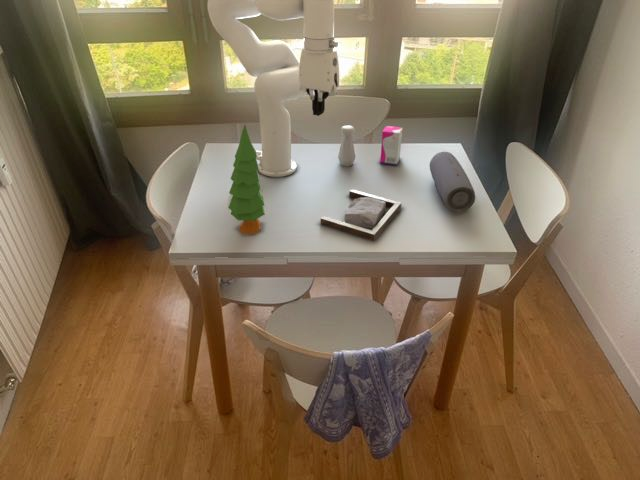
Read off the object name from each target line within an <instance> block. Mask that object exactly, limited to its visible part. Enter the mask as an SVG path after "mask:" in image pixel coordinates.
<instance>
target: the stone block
mask: <svg viewBox="0 0 640 480" xmlns="http://www.w3.org/2000/svg"><path fill="white" fill-rule="evenodd" d="M386 209H387V207H386V202H383V201H381V200H377V199H374V198H369V197H364V198H357V199H355V198H353V201H352V202H351V203H350V204H349V205H348V207H347V208H346V209H345V212H344V216H343V217H344V222H345V223H348V224H352V225H355V226H358V227H362V228H365V229H368V230H372V229H373V228H374V227H375V226H376V225H377V224H378V222H379V221H380V220H381V219H382V218H383V214H385V213H384V212H385V211H386Z"/></svg>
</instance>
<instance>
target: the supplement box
mask: <svg viewBox="0 0 640 480" xmlns="http://www.w3.org/2000/svg"><path fill="white" fill-rule="evenodd" d="M403 130H404V129H403V127H400V126H391V125H385V127H384V129H383V130H382V135H381V145H380V146H381V147H380V160H379V163H380V164H381V165H388V166H397V165H398V164H399V161H400V159H401V150H402V149H401V148H402V139H403Z"/></svg>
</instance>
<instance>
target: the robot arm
mask: <svg viewBox="0 0 640 480" xmlns="http://www.w3.org/2000/svg"><path fill="white" fill-rule="evenodd" d="M207 12H208V17H209V19H210V22H211V24H212V26H213V28H214V30H215V32H217V33H218V35H219V36H220V37H221V39H223V41H224V42H226V43H227V44H228V46H229V47H230V49H231V50H232V52H233V53H234V55H235V57H236V58H237V60H238V62H240V64H241V66H242V68H243V69H244V70H245V72H246V73H247V74H248V75H249V76H251V77H253V78H255V77H256V78H255V79H254V81H253V90H254V94H255V98H256V99H255V100H256V102H257V109H258V116H259V117H258V118H259V129H260V144H261V145H260V146H261V150H255V151H256V154H257V157H256V160H257V161H259V163H258V168H259V170H258V172H259V173H260V174H262V175H263V176H266V177H271V178H281V177H287V176H290V175H292V174H293V173H295V172H296V170H297V163H296V162H295V161H294V160H292V133H291V132H292V131H291V129H292V128H291V127H292V126H291V116H290V113H289V111H288V110H287V109H286V107H285V105H284V103H286V102H290V101H293V100H298V99H301V98H303V97H306V96H307V95H308V96H309V99H310V101H311V102H312V103H311V109H312V115H313V116H317V117H320V116H321V115H323V114H324V112H325V110H326V107H325V106H326V105H325V104H326V99H327V98H329V97H335V96H336V95H338V89H337V88H338V87H339V86H340V66H339V65H340V64H339V63H340V62H339V55H338V52H337V49H334V48H338V45H339V42H338V41H336V40H335V37H334V35H335V0H207ZM260 15H262V16H264V17H266V18H269V19H272V20H275V21H289V20H295V19H303V47H302V48H301V52H300V58H298V57H297V55H296V54H295V52H294V51H293V49H292V48H291V47H290V45H289V44H288V43H286V42H285V41H283V40H280V39H275V40H274V39H273V40H269V41H262V40H260V39H259V37H258V36H257V35H256V34H255V33H256V32H254V31H253V29H252V28H251V27H249V26H248V25H247V24H245V23H243V22H241V21H240V20H242V19H248V18H255V17H258V16H260Z"/></svg>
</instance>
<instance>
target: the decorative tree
mask: <svg viewBox="0 0 640 480" xmlns="http://www.w3.org/2000/svg"><path fill="white" fill-rule="evenodd" d="M256 151H257V150H256V149H255V147H254V145H253V144H252V141H251V139H250V136H249V133H248V129H247V125H246V124H243V128H242V131H241V133H240V139H239V144H238V147H237V149H236V152H235V155H234V161H233V164H232V167H233V170H232V174H231V176H230V180H231V181H232V184H231V187H230V189H229V192H228V194H230V195H231V199H230V202H229V204H228V206H227V209H229V211H230V215H231V216H232V217H233V218H234V219H235V220H237V221H242V223H241V224H240V225H239V227H238V228H237V229H238V230H239V232H241V233H242V234H243V235H244V236H245V235H254V234H257V233H259V232H261V228H262V223H261V222H260V220H259V219H260V218H261V217H263V216H265V215H266V214H265V199H264V196H263V194H262V193H261V192H260V191H261V189H262V185H261V183H260V177H259V173H258V172H259V168H258V165H259V163H258V160H256V157H257V154H256Z"/></svg>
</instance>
